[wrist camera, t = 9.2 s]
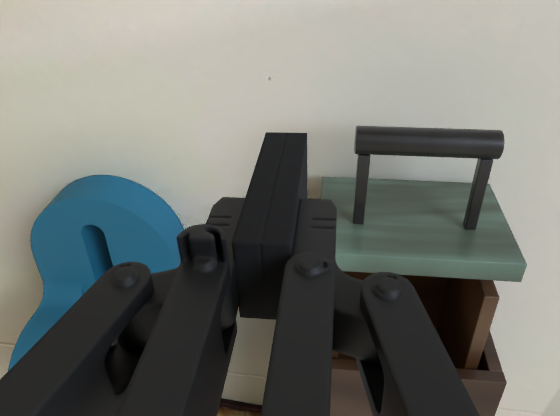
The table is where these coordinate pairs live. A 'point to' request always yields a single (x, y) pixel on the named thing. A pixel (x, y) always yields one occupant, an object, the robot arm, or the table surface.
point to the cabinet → (479, 383)
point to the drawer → (430, 231)
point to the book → (238, 409)
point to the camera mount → (95, 243)
